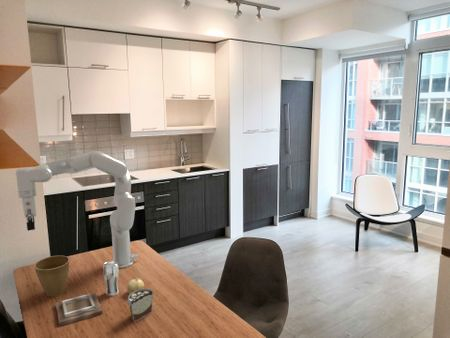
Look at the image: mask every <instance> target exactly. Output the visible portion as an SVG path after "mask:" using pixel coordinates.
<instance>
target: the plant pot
mask: <svg viewBox="0 0 450 338" xmlns="http://www.w3.org/2000/svg"><path fill="white" fill-rule="evenodd" d="M33 266H34V270H35V273H36V276H37V278H38V281H39V283H40V286H41V287H42V289H43V290H44V292H45V294H46V295H47V296H48V297H50V298H52V297H58V296H61V295H62V294H63V293H64V292H65V288H66V286H67V281H68V276H69V268H70V258H69V256H65V255H52V256H48V257H44V258H41V259H40V260H38V261H37V262H36V263H35V264H34V265H33Z"/></svg>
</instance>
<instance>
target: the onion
mask: <svg viewBox="0 0 450 338" xmlns="http://www.w3.org/2000/svg"><path fill="white" fill-rule="evenodd" d="M126 289H127V291H128V293H129V294H131V293H132V292H134V291H136V290H139V289H145V283H144V281H143V280H142V279H141V278H140V277H138V276H136V278H133V279H131V280H130V281H129V282H128V283H127V285H126Z"/></svg>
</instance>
